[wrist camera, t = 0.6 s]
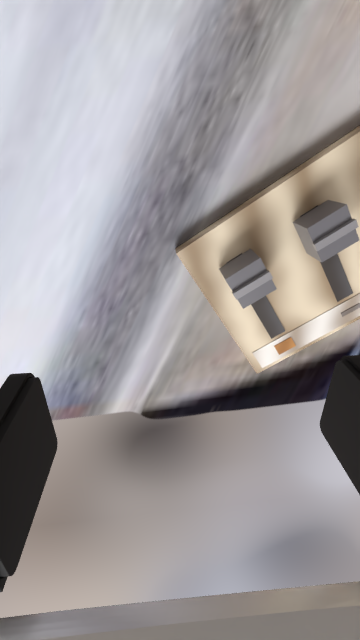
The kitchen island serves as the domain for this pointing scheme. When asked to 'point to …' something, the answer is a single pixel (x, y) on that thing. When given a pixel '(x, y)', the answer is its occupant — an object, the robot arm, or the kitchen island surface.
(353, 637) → the robot arm
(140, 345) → the kitchen island surface
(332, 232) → the switch tab
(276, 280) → the switch panel
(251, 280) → the switch tab
